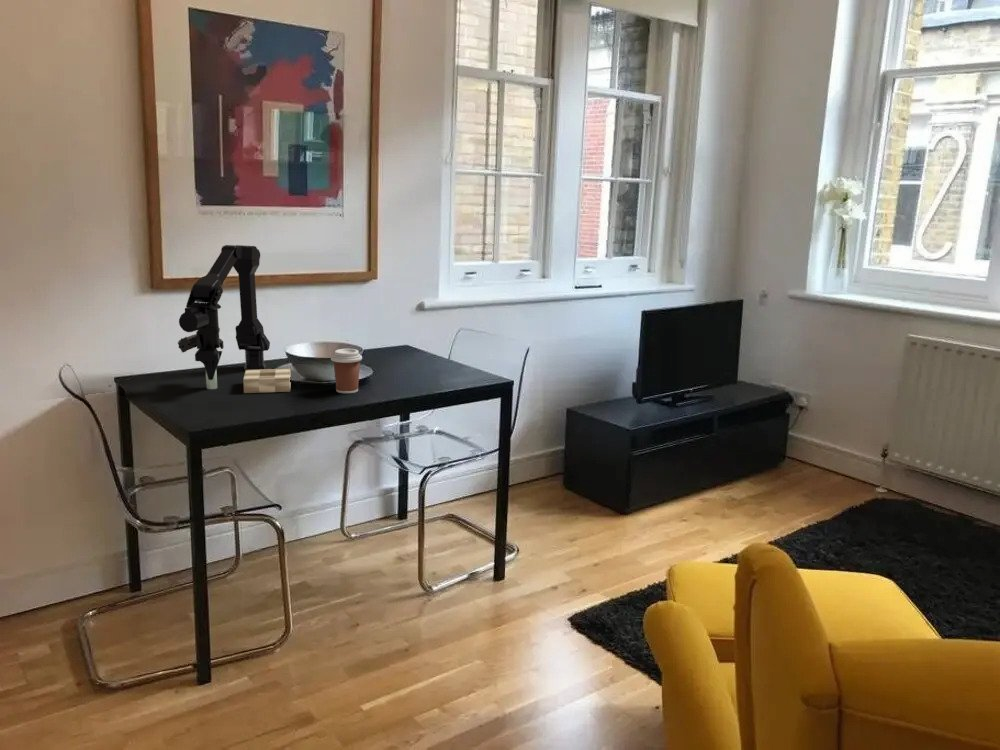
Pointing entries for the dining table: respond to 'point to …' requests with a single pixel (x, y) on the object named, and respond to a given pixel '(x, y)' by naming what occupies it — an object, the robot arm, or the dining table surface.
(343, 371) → the coffee cup
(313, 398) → the dining table surface
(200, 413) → the dining table surface
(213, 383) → the peg
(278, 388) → the hole board
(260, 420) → the dining table surface
